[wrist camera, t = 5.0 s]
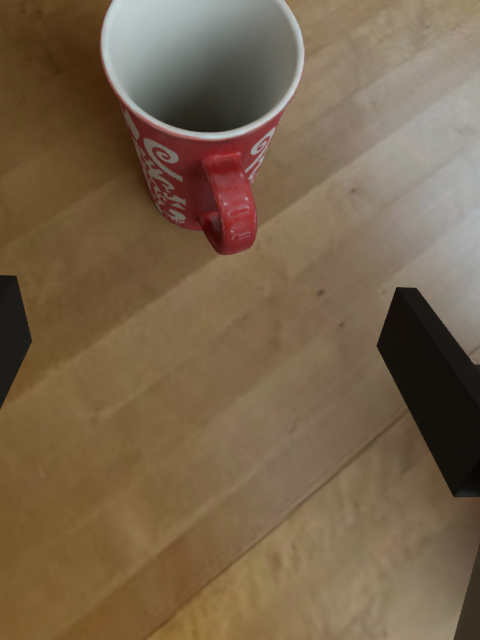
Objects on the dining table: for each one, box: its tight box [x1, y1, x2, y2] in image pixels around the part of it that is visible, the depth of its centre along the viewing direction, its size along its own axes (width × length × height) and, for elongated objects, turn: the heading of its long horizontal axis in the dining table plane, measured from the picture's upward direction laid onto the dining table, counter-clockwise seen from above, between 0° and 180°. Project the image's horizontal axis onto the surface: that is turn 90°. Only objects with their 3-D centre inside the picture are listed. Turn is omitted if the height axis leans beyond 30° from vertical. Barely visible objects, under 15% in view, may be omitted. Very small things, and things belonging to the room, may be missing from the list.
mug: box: [99, 0, 305, 255], centre depth 26 cm, size 13×9×14 cm
